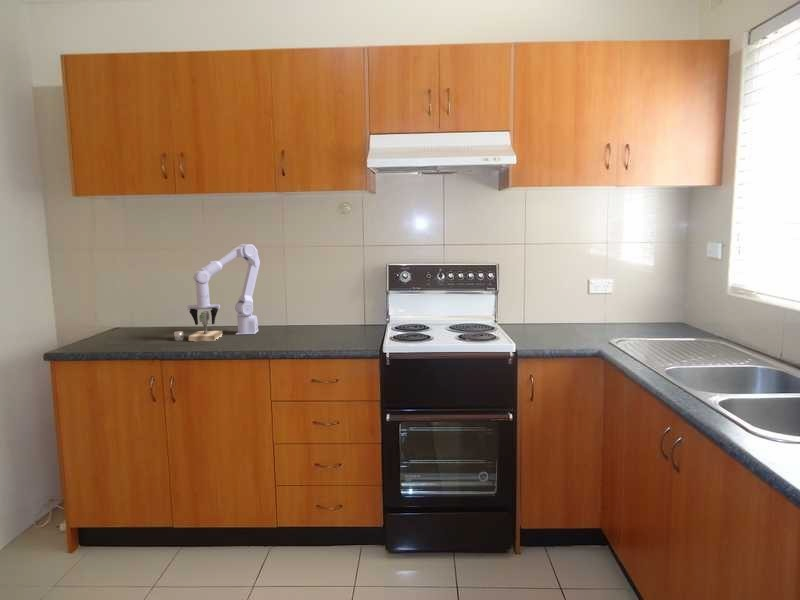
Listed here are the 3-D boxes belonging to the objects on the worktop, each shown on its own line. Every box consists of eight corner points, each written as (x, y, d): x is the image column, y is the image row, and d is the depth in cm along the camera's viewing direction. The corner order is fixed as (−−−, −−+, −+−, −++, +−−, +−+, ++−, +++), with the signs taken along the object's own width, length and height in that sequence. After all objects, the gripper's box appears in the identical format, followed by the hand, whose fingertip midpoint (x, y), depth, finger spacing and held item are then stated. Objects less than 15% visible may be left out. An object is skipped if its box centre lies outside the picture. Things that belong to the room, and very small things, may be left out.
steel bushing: (185, 339, 261) (184, 330, 261) (181, 341, 257) (181, 332, 257) (176, 339, 261) (176, 331, 261) (173, 341, 257) (172, 332, 257)
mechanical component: (199, 335, 256) (198, 314, 254) (205, 331, 266) (203, 311, 264) (206, 335, 256) (204, 314, 255) (211, 331, 266) (209, 310, 265)
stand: (222, 335, 267) (222, 330, 267) (214, 340, 255) (214, 335, 255) (197, 336, 267) (197, 331, 267) (188, 341, 255) (188, 336, 255)
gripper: (220, 294, 263) (222, 322, 265) (189, 295, 262) (191, 323, 264) (217, 296, 256) (219, 324, 258) (185, 297, 255) (187, 326, 257)
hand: (205, 324), depth 260 cm, fingers open, 7 cm apart
